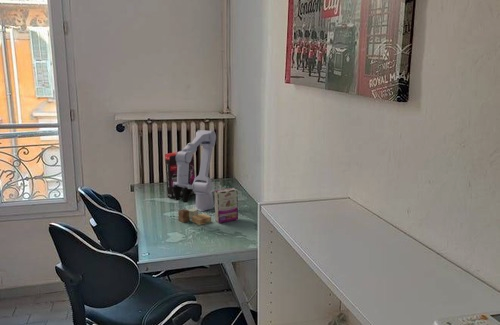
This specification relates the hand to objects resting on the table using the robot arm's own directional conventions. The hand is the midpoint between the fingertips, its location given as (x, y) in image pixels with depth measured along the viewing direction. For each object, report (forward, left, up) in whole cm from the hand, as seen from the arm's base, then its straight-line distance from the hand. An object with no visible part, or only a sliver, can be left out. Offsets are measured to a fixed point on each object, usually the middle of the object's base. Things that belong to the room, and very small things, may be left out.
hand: (181, 201), depth 222 cm
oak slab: (-7, +8, -11) cm, 15 cm away
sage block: (-8, -1, -11) cm, 13 cm away
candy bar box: (-17, +15, -11) cm, 25 cm away
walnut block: (-1, +1, -11) cm, 11 cm away
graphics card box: (-25, -38, -11) cm, 47 cm away
